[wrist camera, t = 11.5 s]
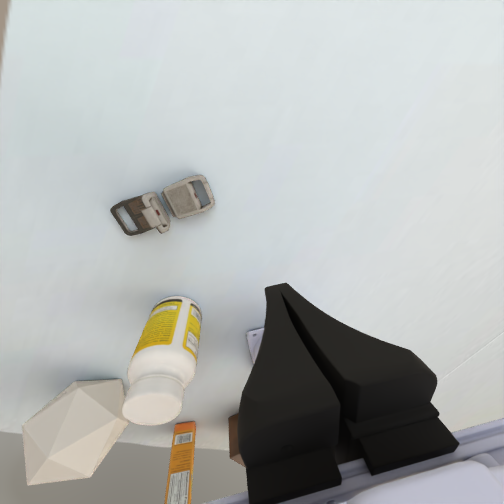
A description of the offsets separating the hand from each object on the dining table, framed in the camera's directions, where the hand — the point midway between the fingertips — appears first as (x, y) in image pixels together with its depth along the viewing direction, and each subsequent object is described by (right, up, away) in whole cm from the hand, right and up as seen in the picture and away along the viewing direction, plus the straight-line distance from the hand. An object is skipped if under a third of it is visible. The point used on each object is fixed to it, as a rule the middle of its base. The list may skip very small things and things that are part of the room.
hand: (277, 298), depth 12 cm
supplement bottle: (-10, -4, +11) cm, 16 cm away
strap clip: (-9, +7, +6) cm, 13 cm away
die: (-21, -15, +14) cm, 30 cm away
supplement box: (-12, -26, +21) cm, 35 cm away
